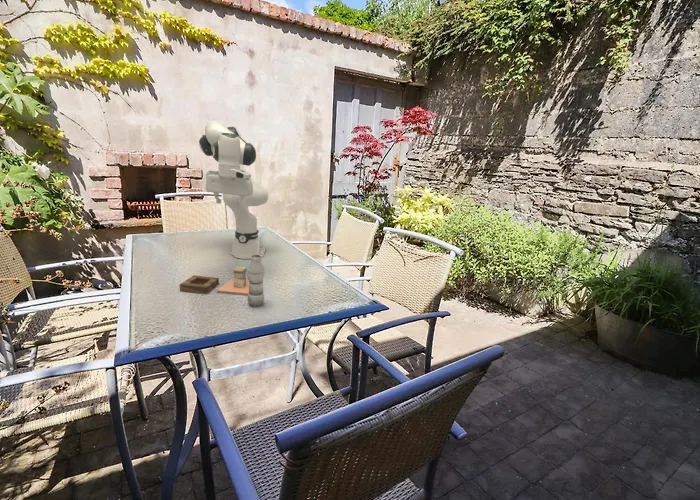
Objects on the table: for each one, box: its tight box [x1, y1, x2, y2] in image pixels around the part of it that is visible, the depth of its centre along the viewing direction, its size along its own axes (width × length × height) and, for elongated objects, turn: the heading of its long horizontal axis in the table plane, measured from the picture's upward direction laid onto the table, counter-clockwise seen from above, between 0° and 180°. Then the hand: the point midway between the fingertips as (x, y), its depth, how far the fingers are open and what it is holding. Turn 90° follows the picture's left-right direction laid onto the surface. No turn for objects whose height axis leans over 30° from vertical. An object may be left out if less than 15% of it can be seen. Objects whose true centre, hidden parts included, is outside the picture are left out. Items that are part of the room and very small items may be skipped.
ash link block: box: [232, 266, 247, 288], centre depth 153 cm, size 4×4×8 cm
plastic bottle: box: [247, 255, 265, 307], centre depth 138 cm, size 6×7×20 cm
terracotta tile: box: [216, 278, 249, 297], centre depth 154 cm, size 14×14×1 cm
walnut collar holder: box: [179, 275, 220, 295], centre depth 151 cm, size 12×12×3 cm
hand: (229, 204), depth 155 cm, fingers open, 8 cm apart
